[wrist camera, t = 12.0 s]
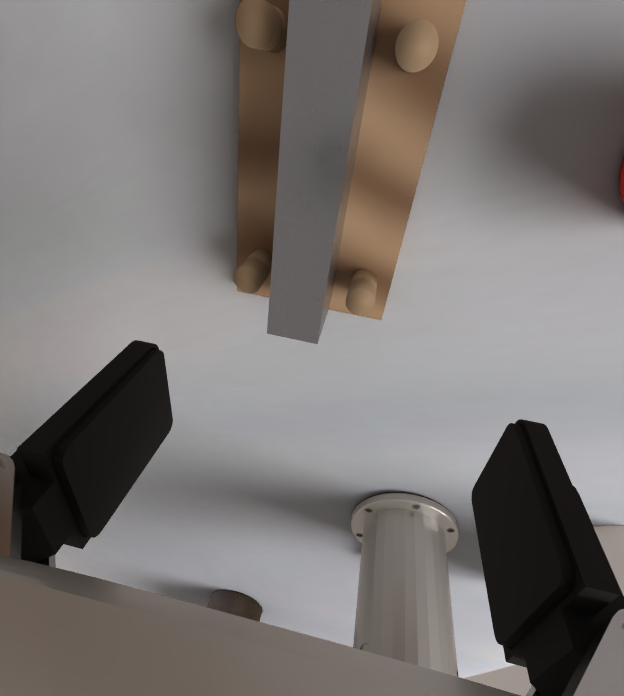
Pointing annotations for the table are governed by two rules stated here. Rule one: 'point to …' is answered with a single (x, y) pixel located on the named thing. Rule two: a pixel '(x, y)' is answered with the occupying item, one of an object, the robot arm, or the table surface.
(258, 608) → the pillar candle
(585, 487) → the table surface
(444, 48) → the rack
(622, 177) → the canned food
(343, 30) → the steel bar
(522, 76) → the table surface
